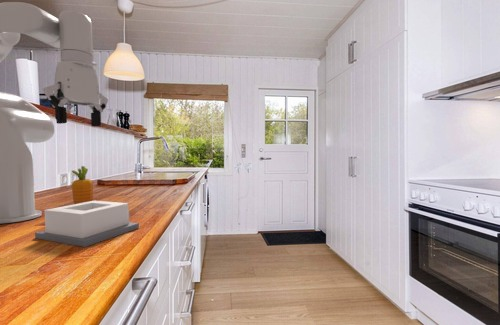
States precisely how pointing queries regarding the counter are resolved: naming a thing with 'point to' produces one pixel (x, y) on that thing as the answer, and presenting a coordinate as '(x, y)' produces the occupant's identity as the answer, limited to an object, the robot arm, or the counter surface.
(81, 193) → the carrot
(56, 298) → the counter surface
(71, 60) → the robot arm
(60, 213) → the socket stand
